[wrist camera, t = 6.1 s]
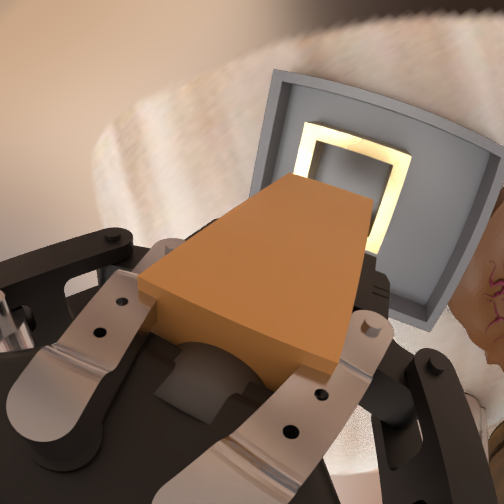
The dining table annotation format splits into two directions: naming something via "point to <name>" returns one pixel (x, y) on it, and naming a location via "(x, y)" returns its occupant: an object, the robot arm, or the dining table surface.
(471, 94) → the dining table surface
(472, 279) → the plant
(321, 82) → the walled box
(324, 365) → the block
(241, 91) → the dining table surface
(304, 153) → the inlet
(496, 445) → the wooden container
